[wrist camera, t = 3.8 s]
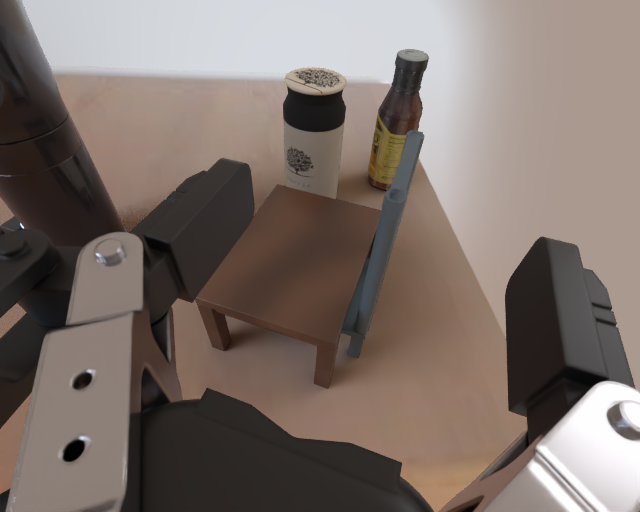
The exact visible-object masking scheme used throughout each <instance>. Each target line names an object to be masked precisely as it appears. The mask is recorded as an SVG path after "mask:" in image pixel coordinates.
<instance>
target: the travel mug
mask: <svg viewBox="0 0 640 512" xmlns="http://www.w3.org/2000/svg"><path fill="white" fill-rule="evenodd" d="M284 80H285V84H286V85H287V88H288V95H287V97H286V99H285V101H284V103H283V117H284V154H285V186H286V187H290V188H294V189H298V190H302V191H306V192H310V193H313V194H317V195H321V196H325V197H329V198H333V199H336V196H337V187H338V177H339V168H340V158H341V149H342V139H343V130H344V120H345V111H346V106H345V104H344V101H343V99H342V92H343V89H344V88H345V86H346V79H345V78H344V77H343V76H342V75H341V74H339V73H337V72H335V71H332V70H329V69H324V68H301V69H297V70H293V71H291V72H290V73H288V74H287V75H286V76H285V79H284Z"/></svg>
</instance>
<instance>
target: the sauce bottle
mask: <svg viewBox="0 0 640 512" xmlns="http://www.w3.org/2000/svg"><path fill="white" fill-rule="evenodd" d="M427 63H428V55H427V54H426V53H424V52H422V51H419V50H414V49H405V50H401V51H399V52H398V53H397V58H396V61H395V64H396V69H395V74H394V79H393V83H392V86H391V88H390V90H389V92H388V94H387V96H386V97H385V99H384V101H383V103H382V104H381V106H380V108H379V110H378V116H377V121H376V127H375V133H374V138H373V144H372V150H371V156H370V162H369V168H368V178H369V181H370V183H371V184H372V185H373V186H375V187H377V188H379V189H383V190H389V189H390V188H391V185H392V182H393V179H394V176H395V173H396V171H397V168H398V165H399V162H400V158H401V154H402V150H403V146H404V142H405V138H406V134H407V132H409V131H410V130H414V131H418V128H419V121H420V117H421V115H422V109H423V107H422V102H421V99H420V96H419V90H420V88H421V86H420V85H421V81H422V77H423V73H424V71H425V70H426V67H427Z"/></svg>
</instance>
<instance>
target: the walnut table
mask: <svg viewBox="0 0 640 512" xmlns="http://www.w3.org/2000/svg"><path fill="white" fill-rule="evenodd" d="M380 214H381V211H380V210H376V209H373V208H369V207H365V206H361V205H357V204H353V203H349V202H345V201H341V200H337V199H333V198H329V197H325V196H321V195H317V194H313V193H310V192H306V191H302V190H298V189H294V188H290V187H286V186H282V185H278V184H277V186H276V187H275V188H274V190H273V191H272V193H271V194H270V195H269V197H268V198H267V199H266V201H265V202H264V203H263V205H262V206H261V207H260V209H259V210H258V211H257V213H256V214H255V216H254V217H253V218H252V221H251V223H250V224H249V226H248V227H247V229H246V230H245V231H244V233H243V234H242V236H241V237H240V238H239V240H238V241H237V242H236V244H235V245H234V246H233V248H232V249H231V251H230V252H229V253H228V255H227V256H226V257H225V259H224V260H223V261H222V263H221V264H220V266H219V267H218V268H217V270H216V271H215V272H214V274H213V275H212V276H211V278H210V279H209V281H208V282H207V283H206V285H205V286H204V287H203V289H202V290H201V291H200V293H199V294H198V296H197V297H196V298H195V300H196V303H197V305H198V308H199V311H200V313H201V316H202V319H203V322H204V325H205V327H206V330H207V333H208V336H209V338H210V341H211V344H212V347H214V348H217V349H220V350H223V351H225V350H226V348H227V346H228V345H229V343H230V341H231V337H230V333H229V329H228V326H227V322H226V318H225V315H227V316H230V317H233V318H236V319H239V320H242V321H245V322H248V323H251V324H254V325H257V326H260V327H263V328H266V329H269V330H272V331H275V332H278V333H280V334H283V335H286V336H289V337H292V338H295V339H298V340H301V341H304V342H307V343H310V344H313V345H316V346H317V357H316V368H315V378H314V384H316V385H319V386H322V387H325V388H327V389H328V387H329V384H330V381H331V378H332V375H333V370H334V364H335V359H336V353H337V348H338V342H339V337H340V333H341V330H342V327H343V325H344V322H345V319H346V316H347V313H348V310H349V307H350V304H351V301H352V299H353V296H354V293H355V290H356V287H357V284H358V281H359V278H360V276H361V273H362V270H363V267H364V264H365V261H366V258H368V259H370V257H371V253H372V248H373V244H374V240H375V235H376V231H377V227H378V222H379V218H380Z"/></svg>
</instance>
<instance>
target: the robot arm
mask: <svg viewBox="0 0 640 512" xmlns="http://www.w3.org/2000/svg"><path fill="white" fill-rule="evenodd" d="M0 197H1V199H2V200H3V201H4V202H5V204H6V205H7V206H8V208H9V209H10V210H11V212H12V213H13V214H14V215H15V216H14V217H13V218H11V219H10V220H8V221H7V222H5V223H4V224H2V225H1V226H0V318H1V317H2V316H3V315H4V314H5V313H6V312H7V311H8V310H9V309H11V308H12V307H13V306H14V305H15V304H16V303H18V304H19V305H20V306H21V307H22V308H23V309H24V310H25V311H26V312H27V313H26V314H25V315H24V316H23V317H22V318H21V319H20V320H19V321H18V322H17V323H16V324H15V325H14V326H13V327H12V328H11V329H10V330H9V331H8V332H7V333H6V334H5V335H4V336H3V337H2V338H0V429H1V427H2V426H3V425H4V424H5V423H6V421H7V420H8V419H9V418H10V417H11V416H12V414H13V413H14V412H15V411H16V410H17V409H18V407H19V406H20V405H21V404H22V403H23V402H24V400H25V399H26V398H27V397H28V396H29V395H30V393H31V392H32V394H31V398H30V403H29V408H28V412H27V417H26V421H25V426H24V430H23V435H22V439H21V444H20V448H19V453H18V458H17V462H16V467H15V471H14V476H13V480H12V485H11V488H10V489H8V490H7V491H5V492H3V493H1V494H0V512H434V511H433V509H432V508H431V506H430V505H429V504H428V503H427V502H426V501H425V499H424V498H423V497H422V496H421V495H420V493H419V492H418V491H417V490H416V489H415V488H413V487H412V486H411V485H410V484H409V483H408V482H407V481H406V480H404V479H403V478H402V477H400V472H401V466H402V463H401V462H398V461H396V460H393V459H391V458H388V457H385V456H383V455H380V454H378V453H375V452H372V451H370V450H367V449H365V448H362V447H359V446H357V445H354V444H352V443H346V442H335V441H324V440H313V439H302V438H296V437H293V436H291V435H290V434H288V433H287V432H286V431H284V430H283V429H282V428H281V427H279V426H278V425H277V424H275V423H274V422H273V421H271V420H270V419H269V418H268V417H266V416H265V415H264V414H262V413H261V412H260V411H258V410H257V409H256V408H255V407H253V406H252V405H250V404H248V403H245V402H243V401H240V400H237V399H235V398H232V397H230V396H227V395H224V394H222V393H219V392H217V391H214V390H211V389H209V388H207V389H206V391H205V392H204V394H203V396H202V398H201V399H193V400H183V399H182V392H181V387H180V383H179V380H178V376H177V371H176V359H175V342H174V324H173V310H172V307H171V305H172V304H173V303H174V302H175V300H176V299H177V298H179V299H182V300H185V301H188V302H191V303H192V302H193V301H194V300H195V298H196V297H197V296H198V294H199V293H200V291H201V290H202V289H203V287H204V286H205V285H206V283H207V282H208V281H209V279H210V278H211V276H212V275H213V274H214V272H215V271H216V270H217V268H218V267H219V266H220V264H221V263H222V261H223V260H224V259H225V257H226V256H227V255H228V253H229V252H230V251H231V249H232V248H233V246H234V245H235V244H236V242H237V241H238V240H239V238H240V237H241V236H242V234H243V233H244V231H245V230H246V229H247V227H248V226H249V224H250V223H251V221H252V218H253V214H254V197H253V188H252V178H251V170H250V167H249V165H248V164H246V163H242V162H238V161H234V160H230V159H226V158H221V159H220V160H218V161H217V162H216V163H215V164H214V165H213V166H212V167H211V168H210V169H209V170H208V171H202V172H200V173H197V174H195V175H193V176H191V177H189V178H187V179H186V180H185V181H184V182H183V183H182V184H181V185H180V186H179V187H178V188H177V189H176V191H173V192H172V193H171V194H170V195H169V196H168V197H167V200H164V201H163V202H162V203H160V204H159V205H158V206H157V207H156V208H155V209H154V210H153V211H152V212H151V213H150V214H149V215H148V216H147V217H145V218H144V219H143V220H142V221H141V222H140V223H139V224H138V225H137V226H136V227H135V228H134V229H133V230H132V231H130V232H129V233H128V232H127V229H126V227H125V226H124V225H123V223H122V221H121V219H120V217H119V215H118V213H117V210H116V208H115V206H114V204H113V202H112V200H111V198H110V196H109V194H108V192H107V190H106V188H105V186H104V184H103V182H102V180H101V177H100V175H99V173H98V171H97V169H96V167H95V165H94V163H93V161H92V159H91V157H90V155H89V153H88V151H87V149H86V147H85V145H84V142H83V140H82V138H81V137H80V135H79V132H78V130H77V128H76V126H75V124H74V122H73V120H72V118H71V116H70V114H69V112H68V110H67V108H66V106H65V104H64V102H63V100H62V98H61V95H60V92H59V90H58V87H57V84H56V81H55V78H54V75H53V73H52V70H51V68H50V66H49V63H48V61H47V59H46V57H45V54H44V52H43V50H42V48H41V46H40V44H39V41H38V39H37V37H36V34H35V32H34V30H33V28H32V25H31V23H30V20H29V18H28V16H27V13H26V11H25V8H24V6H23V3H22V1H21V0H0ZM5 233H6V234H5ZM505 307H506V341H507V373H508V406H509V411H510V412H513V413H516V414H519V415H522V416H525V417H527V425H528V429H527V430H526V431H524V432H523V433H522V434H521V435H520V436H519V437H518V438H517V439H516V440H515V441H514V442H513V443H512V444H511V445H510V446H509V447H508V448H506V449H505V450H504V451H503V452H502V453H501V454H500V455H499V456H498V457H497V458H496V459H495V460H494V461H493V462H492V463H491V464H490V465H489V466H488V467H487V468H486V469H485V470H484V471H483V472H482V473H481V474H480V475H479V476H478V477H477V478H476V479H475V480H474V481H473V482H472V483H471V484H470V485H469V486H467V487H466V488H465V489H464V490H462V491H461V492H460V493H458V494H457V495H456V496H455V497H454V498H453V499H452V500H450V501H449V502H448V503H447V504H446V505H445V506H444V507H443V508H442V509H441V510H440V511H439V512H640V392H639V391H637V390H636V388H635V385H634V382H633V378H632V375H631V371H630V368H629V365H628V361H627V358H626V354H625V351H624V347H623V344H622V341H621V337H620V333H619V330H618V328H617V327H616V324H617V323H616V319H615V316H614V312H612V311H611V309H612V305H611V302H610V299H609V295H608V292H607V289H606V288H605V286H604V285H603V284H602V282H601V281H600V280H599V278H598V277H597V276H596V275H595V273H594V272H593V271H592V270H588V269H584V268H583V265H582V261H581V257H580V253H579V249H578V247H577V246H576V245H574V244H570V243H566V242H562V241H558V240H554V239H550V238H546V237H540V238H539V239H538V240H537V241H536V242H535V243H534V244H533V246H532V247H531V249H530V250H529V252H528V253H527V254H526V256H525V257H524V259H523V260H522V262H521V263H520V264H519V266H518V267H517V269H516V270H515V271H514V273H513V275H512V276H511V278H510V280H509V282H508V285H507V288H506V294H505Z"/></svg>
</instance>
